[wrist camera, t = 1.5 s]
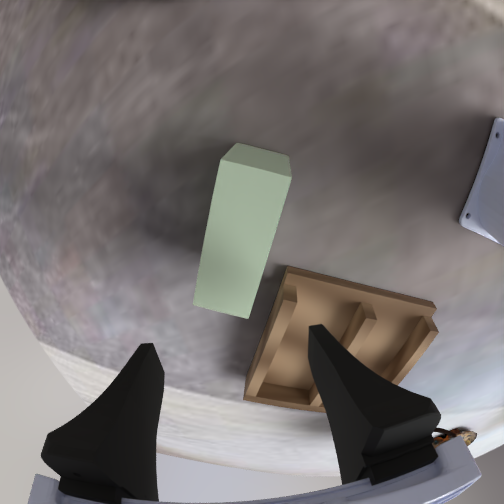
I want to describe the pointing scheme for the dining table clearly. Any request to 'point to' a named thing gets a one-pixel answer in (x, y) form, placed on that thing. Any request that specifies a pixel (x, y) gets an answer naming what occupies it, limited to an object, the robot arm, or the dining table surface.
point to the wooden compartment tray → (335, 335)
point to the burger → (466, 435)
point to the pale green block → (241, 228)
